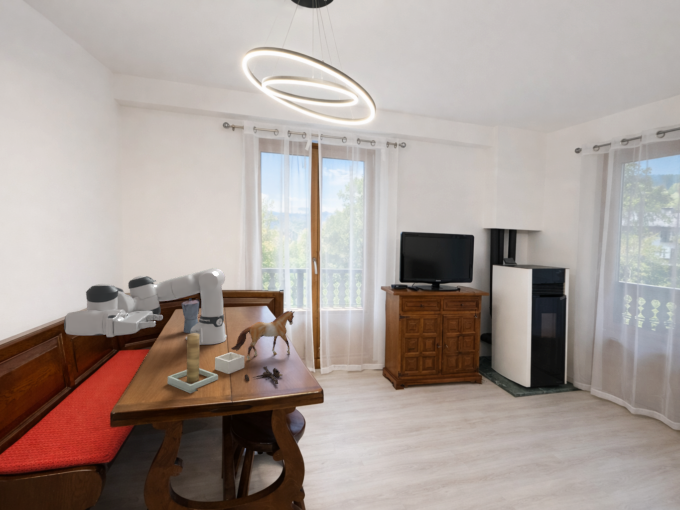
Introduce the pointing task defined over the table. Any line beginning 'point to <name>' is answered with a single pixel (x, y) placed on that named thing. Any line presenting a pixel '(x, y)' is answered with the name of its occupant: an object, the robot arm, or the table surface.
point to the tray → (191, 388)
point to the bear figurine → (267, 375)
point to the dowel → (193, 357)
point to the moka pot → (190, 314)
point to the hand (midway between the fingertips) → (158, 320)
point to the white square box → (229, 362)
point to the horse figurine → (266, 332)
